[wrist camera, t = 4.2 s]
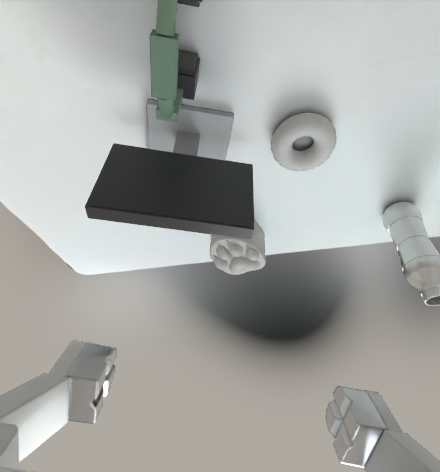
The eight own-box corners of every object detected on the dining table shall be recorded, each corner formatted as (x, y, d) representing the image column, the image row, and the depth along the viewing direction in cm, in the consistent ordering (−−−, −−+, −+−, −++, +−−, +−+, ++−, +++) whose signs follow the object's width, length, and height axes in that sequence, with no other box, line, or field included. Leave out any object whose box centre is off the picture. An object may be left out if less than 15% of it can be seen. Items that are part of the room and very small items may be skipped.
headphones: (160, -57, 32) (129, -25, 24) (209, -46, 33) (196, -11, 24) (160, 72, 43) (139, 128, 34) (198, 78, 43) (186, 135, 34)
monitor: (124, 95, 45) (78, 186, 33) (256, 116, 47) (261, 211, 35) (129, 151, 53) (94, 242, 41) (243, 168, 55) (243, 260, 42)
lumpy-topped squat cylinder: (229, 252, 75) (228, 283, 69) (200, 220, 66) (196, 252, 61) (269, 240, 70) (271, 272, 65) (243, 204, 62) (243, 238, 56)
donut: (265, 160, 53) (323, 165, 53) (266, 173, 51) (326, 178, 51) (277, 105, 46) (344, 110, 46) (278, 117, 43) (348, 123, 43)
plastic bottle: (375, 220, 64) (407, 310, 51) (386, 196, 58) (425, 289, 46) (407, 220, 63) (448, 310, 50) (421, 196, 58) (471, 290, 45)
